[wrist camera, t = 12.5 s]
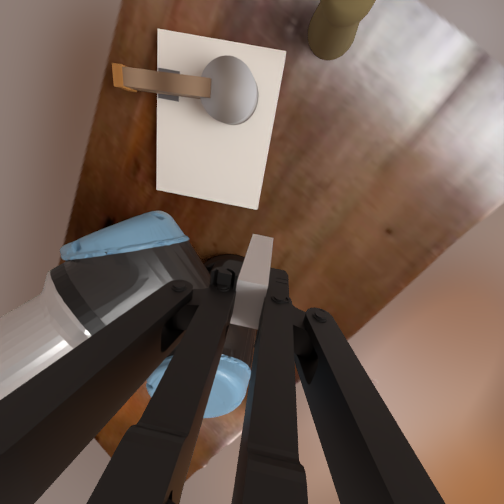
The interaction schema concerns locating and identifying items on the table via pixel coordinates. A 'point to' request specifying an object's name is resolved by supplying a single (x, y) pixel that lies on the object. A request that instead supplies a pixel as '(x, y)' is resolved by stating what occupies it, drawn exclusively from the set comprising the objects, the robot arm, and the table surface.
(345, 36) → the olive pawn
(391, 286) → the table surface
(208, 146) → the base plate
